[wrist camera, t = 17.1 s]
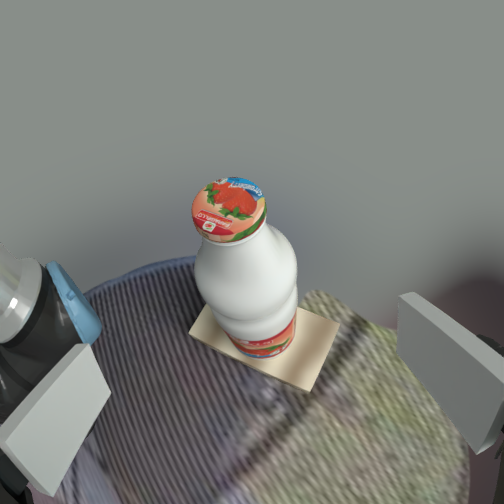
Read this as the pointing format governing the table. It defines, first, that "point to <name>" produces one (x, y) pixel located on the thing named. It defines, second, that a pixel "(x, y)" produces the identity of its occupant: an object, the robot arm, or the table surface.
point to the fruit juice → (245, 268)
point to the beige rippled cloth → (291, 361)
